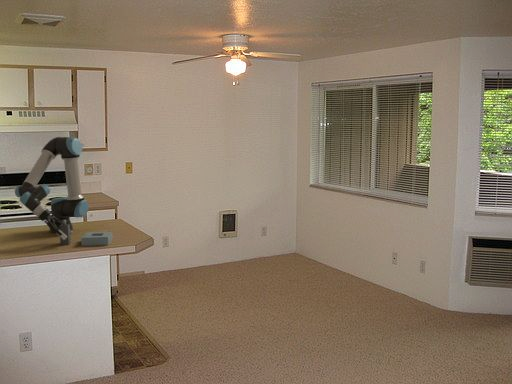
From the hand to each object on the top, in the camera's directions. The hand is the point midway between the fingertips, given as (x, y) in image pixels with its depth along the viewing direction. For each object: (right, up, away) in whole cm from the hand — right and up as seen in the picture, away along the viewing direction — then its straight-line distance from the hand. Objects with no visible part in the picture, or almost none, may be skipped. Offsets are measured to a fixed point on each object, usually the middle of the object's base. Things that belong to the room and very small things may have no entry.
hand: (68, 236), depth 358 cm
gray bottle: (-2, -5, +1) cm, 5 cm away
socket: (+17, -4, +4) cm, 18 cm away
